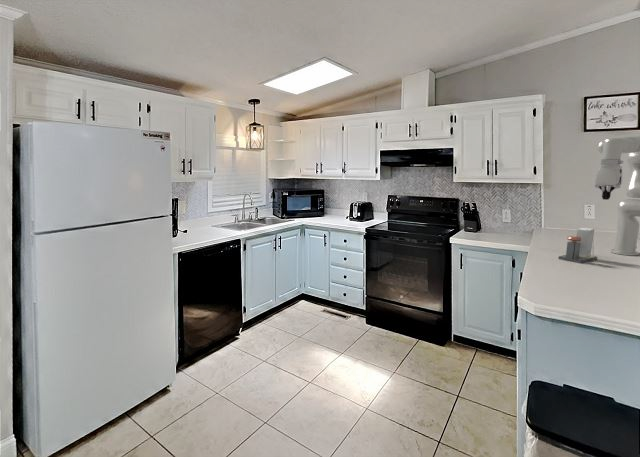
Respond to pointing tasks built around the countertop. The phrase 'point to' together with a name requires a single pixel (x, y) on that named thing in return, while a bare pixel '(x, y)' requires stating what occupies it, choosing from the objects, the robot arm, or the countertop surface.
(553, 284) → the countertop surface
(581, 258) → the press base
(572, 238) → the plunger
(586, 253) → the skincare box
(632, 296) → the countertop surface
